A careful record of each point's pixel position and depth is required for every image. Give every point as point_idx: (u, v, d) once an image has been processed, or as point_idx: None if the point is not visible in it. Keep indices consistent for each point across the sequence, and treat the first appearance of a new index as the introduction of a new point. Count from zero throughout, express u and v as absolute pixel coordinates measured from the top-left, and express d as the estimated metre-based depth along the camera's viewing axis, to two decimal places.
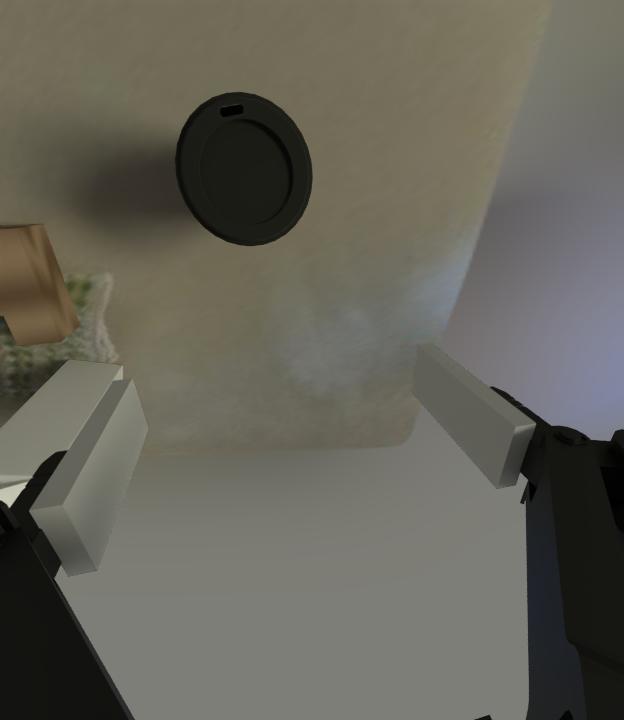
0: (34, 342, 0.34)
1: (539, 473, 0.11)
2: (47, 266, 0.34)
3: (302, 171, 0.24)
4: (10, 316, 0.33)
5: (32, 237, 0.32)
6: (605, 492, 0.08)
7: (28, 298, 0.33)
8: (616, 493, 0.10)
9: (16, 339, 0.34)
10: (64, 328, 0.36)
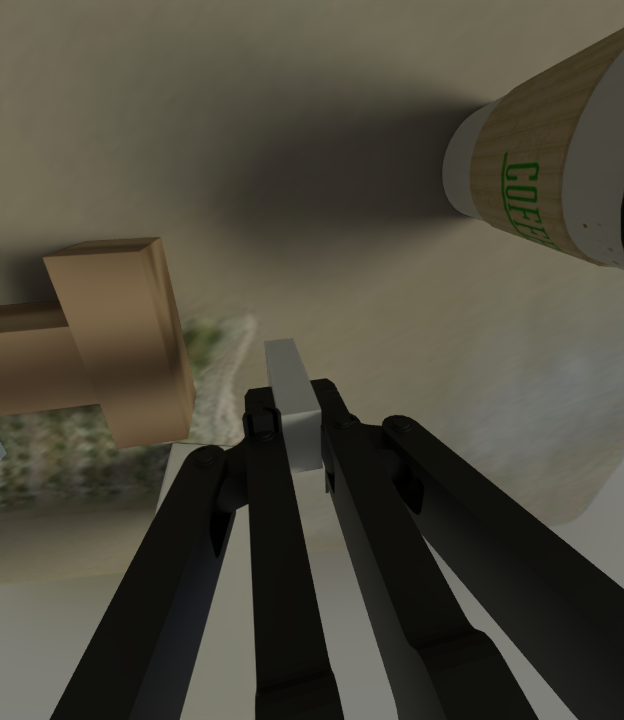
0: (144, 442, 0.20)
1: (331, 462, 0.11)
2: (169, 311, 0.20)
3: None
4: (111, 404, 0.18)
5: (154, 263, 0.18)
6: (381, 462, 0.10)
7: (145, 374, 0.18)
8: None
9: (116, 439, 0.20)
10: (187, 411, 0.21)
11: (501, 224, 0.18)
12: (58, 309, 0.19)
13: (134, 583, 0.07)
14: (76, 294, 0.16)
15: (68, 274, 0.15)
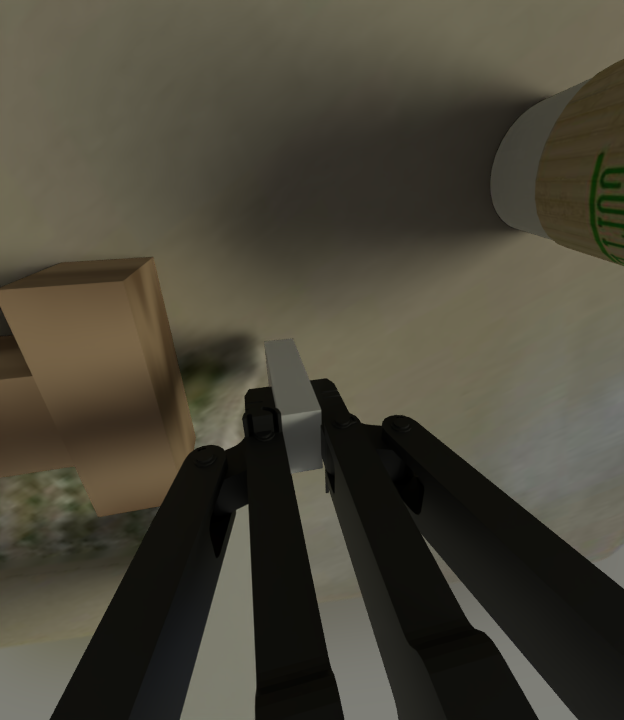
0: (132, 508, 0.16)
1: (331, 462, 0.11)
2: (163, 348, 0.16)
3: None
4: (89, 466, 0.15)
5: (144, 292, 0.14)
6: (381, 462, 0.10)
7: (131, 430, 0.14)
8: None
9: (97, 506, 0.16)
10: None
11: (577, 242, 0.14)
12: None
13: (134, 583, 0.07)
14: (40, 336, 0.12)
15: (29, 310, 0.12)
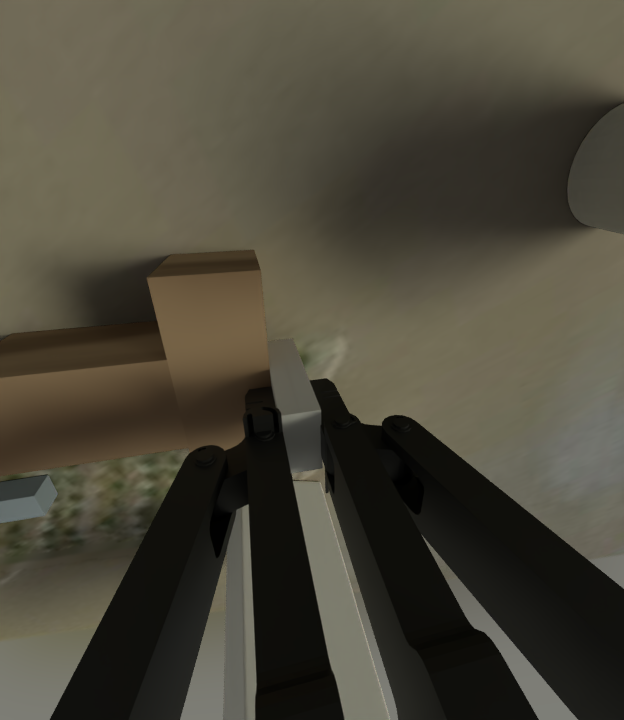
0: None
1: (331, 462, 0.11)
2: None
3: None
4: None
5: None
6: (381, 462, 0.10)
7: None
8: None
9: None
10: None
11: None
12: (138, 335, 0.16)
13: (134, 583, 0.07)
14: (180, 321, 0.13)
15: (174, 297, 0.12)
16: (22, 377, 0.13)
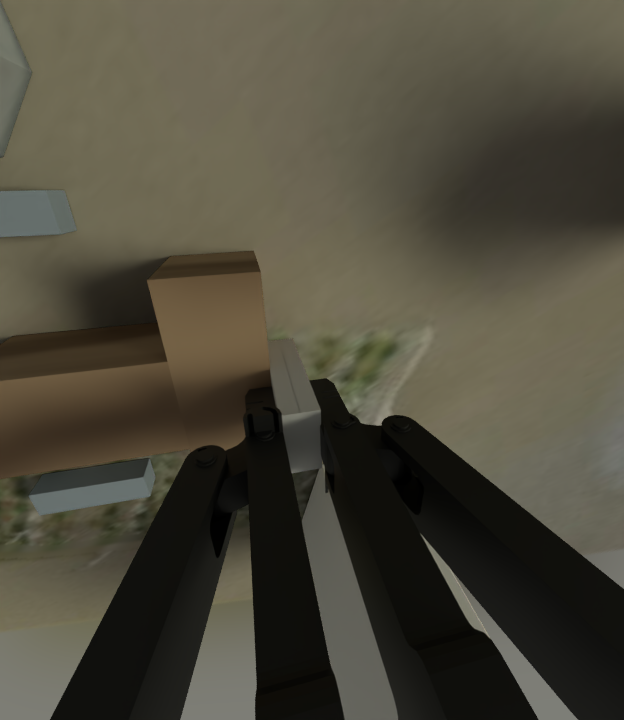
0: None
1: (331, 462, 0.11)
2: None
3: None
4: None
5: None
6: (380, 462, 0.10)
7: None
8: None
9: None
10: None
11: None
12: (139, 337, 0.16)
13: (135, 583, 0.07)
14: (180, 323, 0.13)
15: (175, 299, 0.12)
16: (23, 380, 0.13)
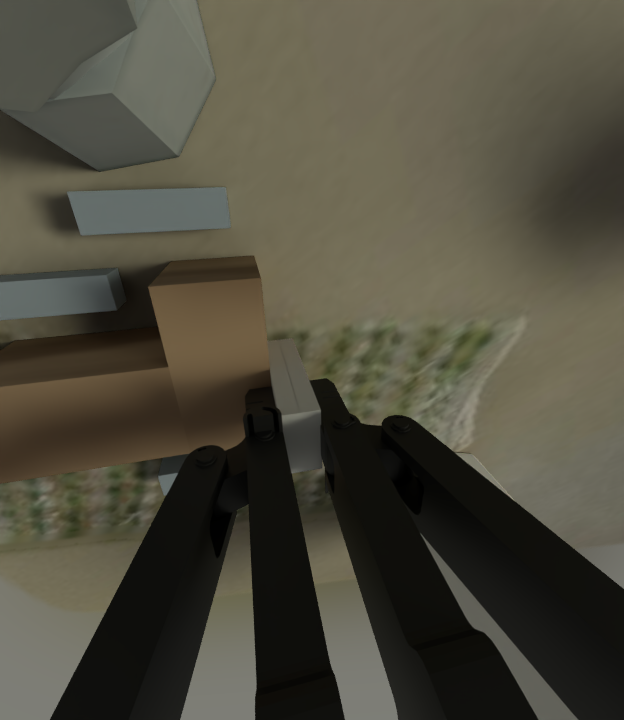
0: None
1: (331, 462, 0.11)
2: None
3: None
4: None
5: None
6: (380, 462, 0.10)
7: None
8: None
9: None
10: None
11: None
12: (140, 341, 0.16)
13: (134, 583, 0.07)
14: (181, 329, 0.13)
15: (176, 305, 0.12)
16: (25, 386, 0.13)
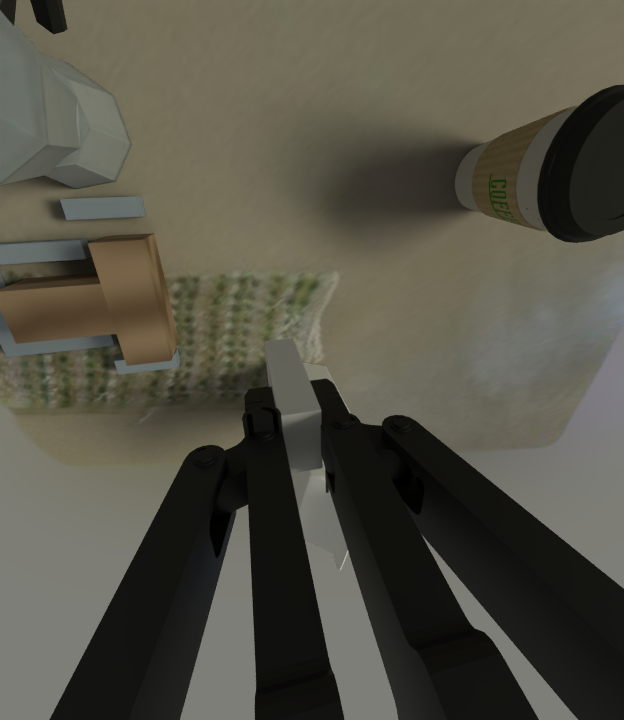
0: (143, 362, 0.32)
1: (331, 462, 0.11)
2: (159, 279, 0.32)
3: None
4: (123, 334, 0.30)
5: (149, 248, 0.30)
6: (381, 462, 0.10)
7: (144, 315, 0.30)
8: None
9: (126, 358, 0.31)
10: (171, 345, 0.33)
11: (489, 212, 0.32)
12: (91, 277, 0.31)
13: (134, 583, 0.07)
14: (105, 264, 0.28)
15: (101, 252, 0.27)
16: (32, 290, 0.27)
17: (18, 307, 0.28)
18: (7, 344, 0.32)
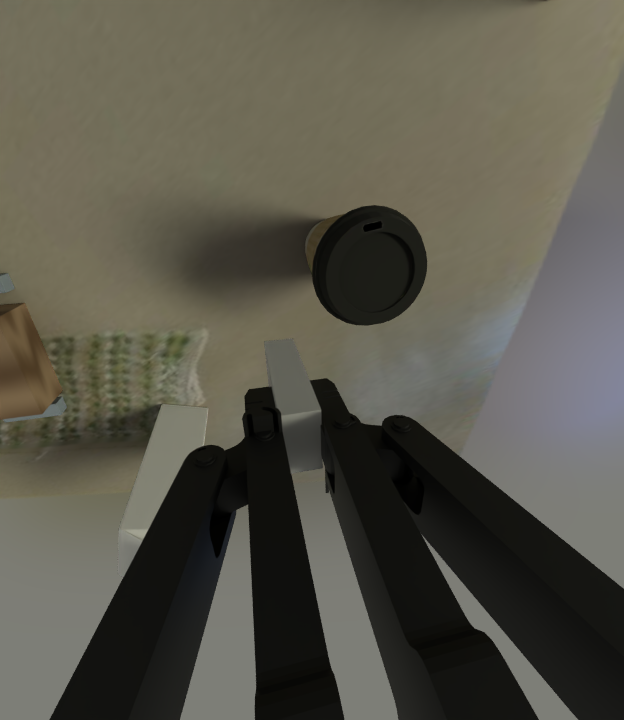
0: (16, 416, 0.36)
1: (331, 462, 0.11)
2: (28, 344, 0.36)
3: (422, 269, 0.27)
4: None
5: (13, 320, 0.34)
6: (381, 462, 0.10)
7: (9, 378, 0.34)
8: None
9: None
10: (45, 399, 0.37)
11: None
12: None
13: (134, 583, 0.07)
14: None
15: None
16: None
17: None
18: None
